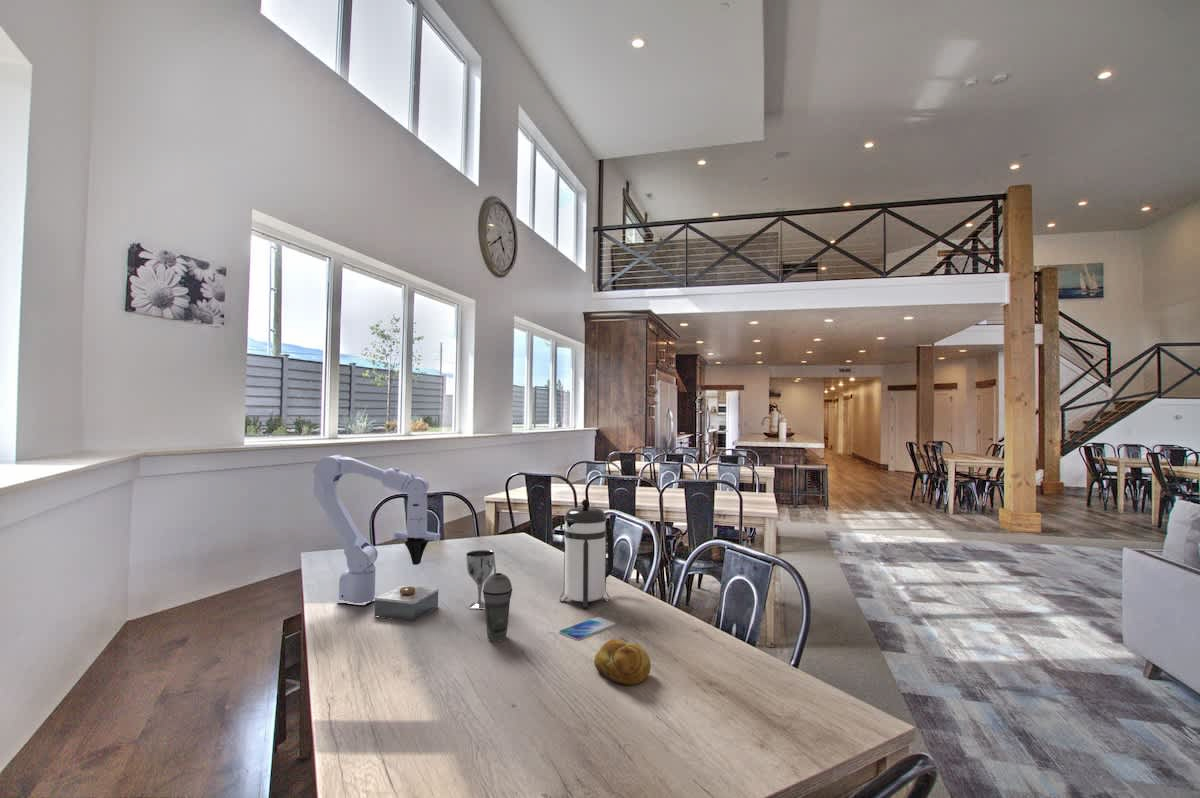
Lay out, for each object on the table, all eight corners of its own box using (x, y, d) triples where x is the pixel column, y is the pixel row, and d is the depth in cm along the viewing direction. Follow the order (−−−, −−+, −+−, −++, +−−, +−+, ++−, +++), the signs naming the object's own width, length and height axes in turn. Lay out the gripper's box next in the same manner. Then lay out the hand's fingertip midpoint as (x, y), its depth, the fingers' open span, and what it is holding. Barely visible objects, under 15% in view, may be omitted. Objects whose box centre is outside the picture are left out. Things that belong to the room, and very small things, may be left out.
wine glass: (496, 602, 163) (497, 550, 163) (488, 611, 155) (489, 557, 156) (470, 601, 164) (471, 549, 164) (461, 610, 156) (462, 556, 156)
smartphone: (618, 623, 146) (577, 639, 135) (618, 626, 145) (577, 642, 135) (598, 616, 150) (557, 630, 140) (598, 619, 150) (557, 634, 140)
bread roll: (584, 672, 118) (584, 634, 118) (616, 659, 125) (616, 623, 125) (627, 694, 109) (627, 652, 109) (659, 679, 115) (660, 639, 116)
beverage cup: (505, 644, 132) (506, 560, 133) (476, 642, 133) (478, 558, 134) (516, 633, 139) (517, 552, 140) (488, 631, 140) (490, 551, 141)
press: (374, 616, 150) (374, 597, 150) (406, 600, 164) (406, 582, 164) (413, 621, 147) (413, 601, 147) (442, 604, 161) (442, 586, 161)
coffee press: (613, 610, 157) (614, 503, 158) (557, 609, 157) (558, 502, 158) (613, 591, 174) (614, 495, 175) (562, 590, 174) (563, 494, 176)
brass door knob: (381, 613, 151) (381, 592, 151) (402, 602, 160) (402, 582, 160) (412, 617, 148) (412, 595, 148) (432, 605, 158) (432, 585, 158)
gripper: (445, 516, 168) (445, 562, 167) (404, 514, 171) (403, 559, 171) (433, 520, 161) (432, 568, 160) (389, 518, 165) (389, 564, 164)
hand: (416, 563), depth 165 cm, fingers closed
